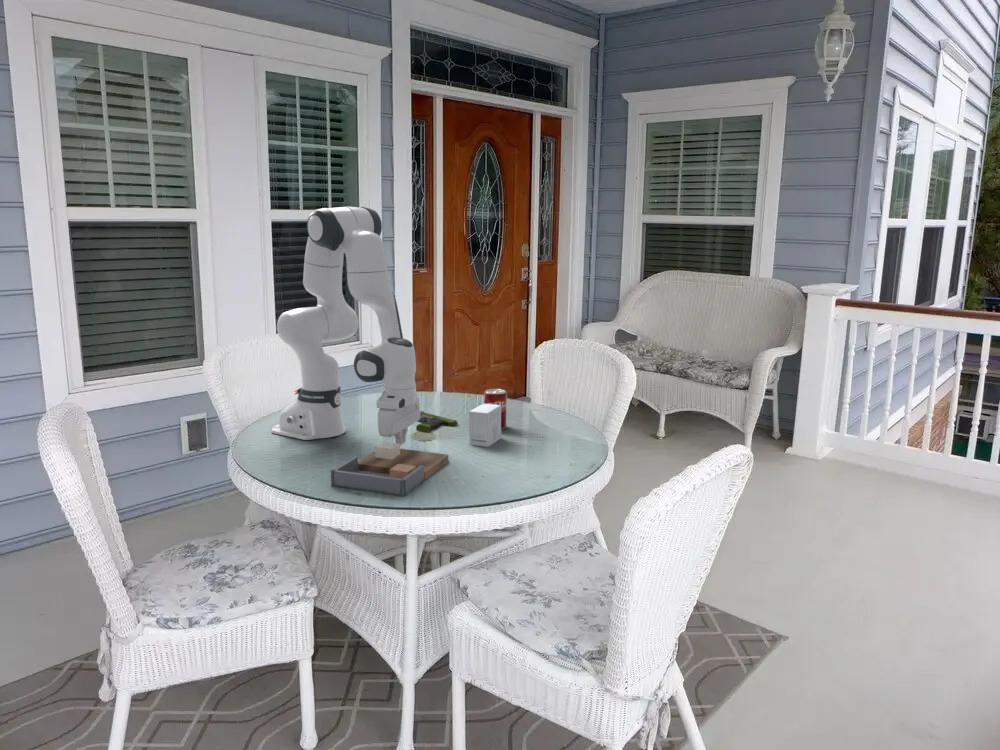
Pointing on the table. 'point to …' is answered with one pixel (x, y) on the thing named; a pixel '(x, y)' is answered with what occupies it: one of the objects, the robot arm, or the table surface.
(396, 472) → the terracotta tile
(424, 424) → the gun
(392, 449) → the cream tile
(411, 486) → the bin
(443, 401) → the table surface
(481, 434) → the skincare box
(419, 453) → the walnut board
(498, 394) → the soda can
